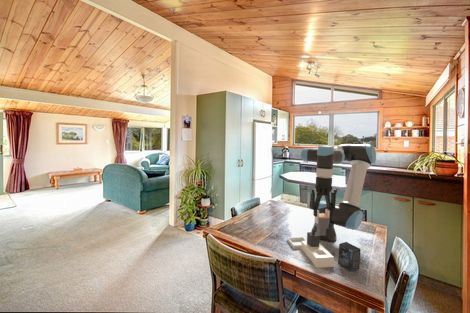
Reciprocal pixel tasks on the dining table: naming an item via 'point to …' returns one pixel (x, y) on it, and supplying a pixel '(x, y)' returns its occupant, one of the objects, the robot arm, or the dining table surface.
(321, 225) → the plug
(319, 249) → the beige socket block
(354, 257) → the box
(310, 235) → the twin plug
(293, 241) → the tray
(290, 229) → the dining table surface
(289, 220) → the dining table surface
